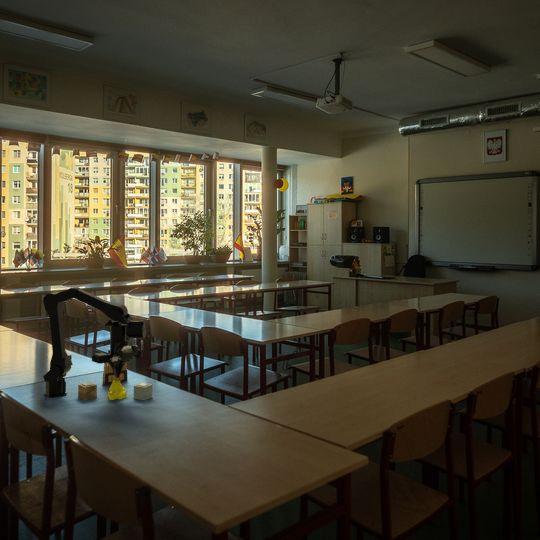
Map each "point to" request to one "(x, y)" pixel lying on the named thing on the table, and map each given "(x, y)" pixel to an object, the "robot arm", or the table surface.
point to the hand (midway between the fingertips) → (117, 377)
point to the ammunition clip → (109, 375)
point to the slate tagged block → (142, 391)
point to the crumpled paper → (117, 390)
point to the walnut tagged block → (87, 391)
